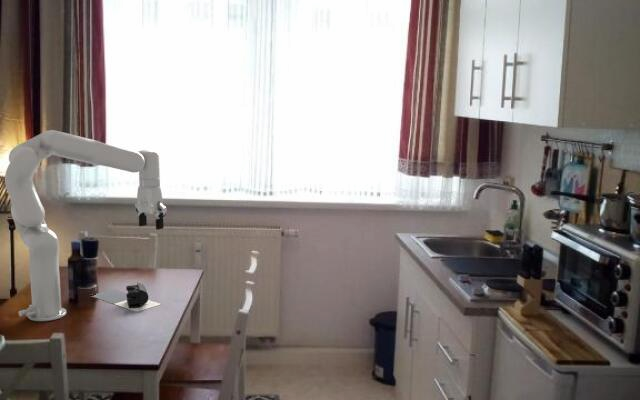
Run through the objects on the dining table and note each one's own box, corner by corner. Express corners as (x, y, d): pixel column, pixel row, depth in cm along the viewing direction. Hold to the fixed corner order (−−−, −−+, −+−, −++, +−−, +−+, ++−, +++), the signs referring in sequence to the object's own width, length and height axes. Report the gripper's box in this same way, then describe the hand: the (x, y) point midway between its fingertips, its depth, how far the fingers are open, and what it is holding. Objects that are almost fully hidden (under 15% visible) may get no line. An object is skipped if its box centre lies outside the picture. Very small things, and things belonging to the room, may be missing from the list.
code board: (136, 311, 240) (136, 311, 240) (113, 304, 249) (113, 303, 249) (161, 304, 249) (161, 304, 249) (138, 297, 258) (138, 296, 258)
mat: (113, 304, 249) (113, 303, 249) (89, 295, 259) (89, 295, 259) (138, 297, 258) (138, 296, 258) (113, 289, 267) (113, 289, 267)
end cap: (148, 306, 246) (148, 289, 244) (129, 309, 243) (128, 291, 242) (145, 299, 255) (145, 281, 254) (126, 300, 252) (126, 283, 251)
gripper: (126, 181, 253) (128, 226, 256) (156, 186, 243) (158, 232, 246) (142, 179, 259) (144, 223, 262) (172, 183, 249) (174, 228, 252)
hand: (151, 227), depth 254 cm, fingers open, 9 cm apart
